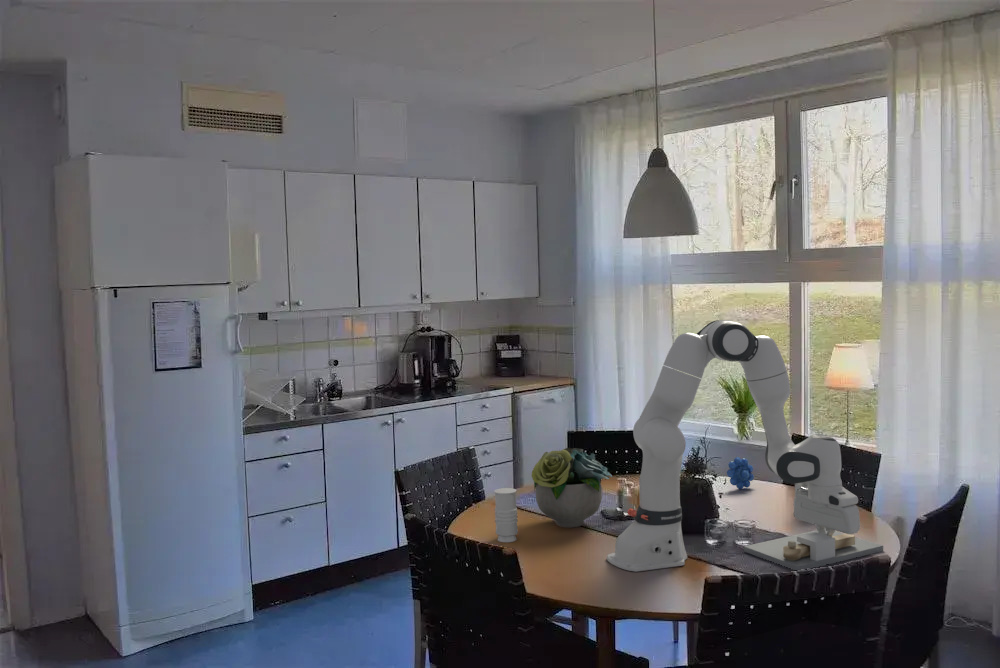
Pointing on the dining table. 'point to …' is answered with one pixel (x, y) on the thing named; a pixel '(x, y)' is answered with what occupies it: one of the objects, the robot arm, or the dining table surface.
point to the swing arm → (804, 549)
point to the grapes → (740, 473)
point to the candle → (506, 514)
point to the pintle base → (805, 561)
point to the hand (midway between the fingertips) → (825, 542)
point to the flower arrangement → (568, 485)
